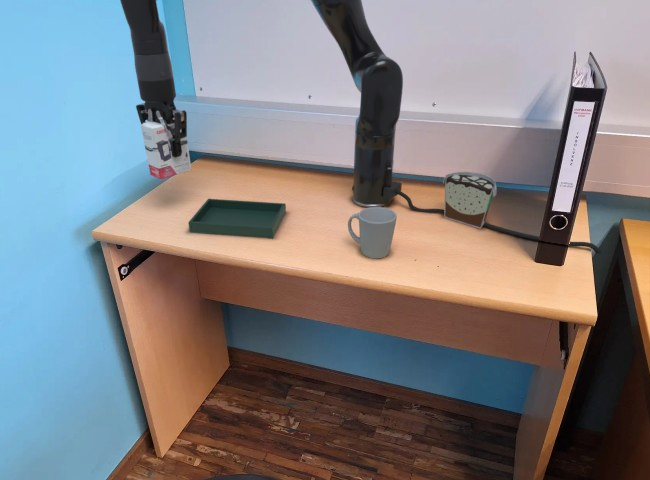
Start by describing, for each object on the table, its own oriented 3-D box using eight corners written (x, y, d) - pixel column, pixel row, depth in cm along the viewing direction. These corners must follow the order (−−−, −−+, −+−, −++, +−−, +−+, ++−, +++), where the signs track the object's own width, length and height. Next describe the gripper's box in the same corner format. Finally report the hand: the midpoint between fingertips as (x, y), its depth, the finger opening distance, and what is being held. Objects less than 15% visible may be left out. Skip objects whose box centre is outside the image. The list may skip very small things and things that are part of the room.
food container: (500, 221, 123) (508, 179, 118) (487, 231, 120) (495, 188, 114) (452, 207, 130) (457, 167, 125) (438, 215, 127) (443, 174, 121)
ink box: (161, 180, 122) (151, 127, 116) (149, 174, 125) (139, 123, 119) (192, 170, 127) (185, 119, 121) (180, 165, 130) (172, 115, 124)
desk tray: (286, 213, 129) (285, 203, 128) (272, 238, 119) (272, 228, 117) (209, 208, 133) (208, 198, 131) (189, 232, 122) (188, 222, 120)
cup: (386, 264, 108) (389, 225, 104) (340, 254, 112) (341, 216, 108) (399, 248, 114) (402, 210, 109) (355, 238, 118) (356, 202, 113)
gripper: (192, 75, 113) (202, 155, 123) (146, 68, 121) (159, 144, 130) (164, 82, 108) (177, 165, 118) (118, 75, 116) (134, 153, 125)
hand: (167, 153), depth 124 cm, fingers closed on ink box, 5 cm apart
